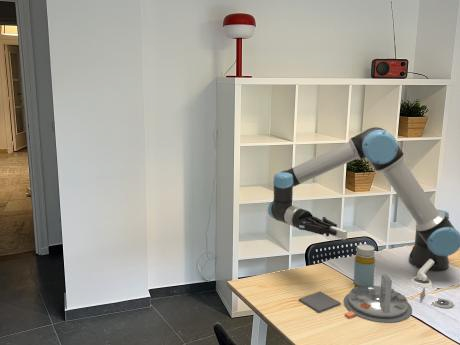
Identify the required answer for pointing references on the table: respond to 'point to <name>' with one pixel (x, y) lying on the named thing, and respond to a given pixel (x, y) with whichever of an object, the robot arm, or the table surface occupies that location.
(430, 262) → the hook
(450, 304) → the bracket
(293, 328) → the table surface
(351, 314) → the pointer
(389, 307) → the round flange disc
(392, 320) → the plate
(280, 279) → the table surface
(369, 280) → the bottle
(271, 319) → the table surface
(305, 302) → the pad
